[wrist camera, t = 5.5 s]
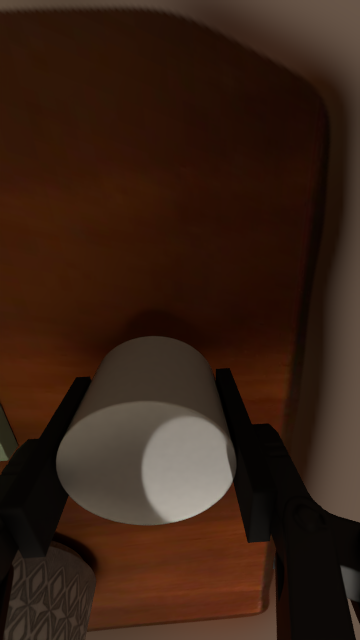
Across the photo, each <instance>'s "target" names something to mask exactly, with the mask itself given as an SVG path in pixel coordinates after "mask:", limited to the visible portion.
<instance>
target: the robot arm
mask: <svg viewBox="0 0 360 640" xmlns="http://www.w3.org/2000/svg"><path fill="white" fill-rule="evenodd" d="M90 382H91V379H90V377H76V379H75V380H74V382H73V384H72V385H71V387H70V389H69V390H68V392H67V394H66V395H65V397H64V399H63V400H62V402H61V404H60V405H59V407H58V408H57V410H56V412H55V413H54V415H53V417H52V418H51V420H50V422H49V423H48V425H47V427H46V428H45V430H44V432H43V433H42V435H41V437H40V438H39V439H28V440H27V441H26V442H25V443H24V444H23V445H22V446H21V447H20V448H18V449H17V450H16V452H15V453H14V455H13V456H12V458H11V459H10V461H9V464H8V465H6V467H5V468H4V470H3V471H2V474H1V475H0V640H3V636H4V630H5V624H6V618H7V612H8V607H9V601H10V595H11V589H12V583H13V578H14V566H13V565H12V562H13V560H14V558H15V556H16V554H17V551H18V550H19V552H20V553H21V555H22V557H23V559H24V558H38V557H46V554H47V552H48V549H49V546H50V544H51V541H52V538H53V536H54V533H55V530H56V528H57V525H58V522H59V520H60V517H61V514H62V512H63V509H64V506H65V503H66V501H67V498H68V493H67V492H66V491H65V489H64V488H63V486H62V485H61V482H60V480H59V478H58V474H57V470H56V456H57V451H58V448H59V445H60V442H61V440H62V438H63V436H64V434H65V432H66V430H67V428H68V426H69V424H70V422H71V420H72V418H73V416H74V414H75V412H76V410H77V408H78V406H79V404H80V402H81V400H82V398H83V396H84V394H85V392H86V390H87V388H88V386H89V384H90ZM216 384H217V387H218V391H219V394H220V398H221V401H222V405H223V409H224V412H225V416H226V419H227V423H228V426H229V430H230V434H231V437H232V441H233V444H234V448H235V452H236V457H237V468H236V473H235V477H234V480H233V482H234V486H235V491H236V495H237V499H238V503H239V507H240V512H241V516H242V520H243V524H244V528H245V532H246V537H247V541H248V543H251V542H265V541H270V535H271V534H272V537H273V540H274V544H275V547H276V552H275V557H274V563H273V568H274V569H275V576H276V617H277V640H356V638H355V634H354V629H353V624H352V620H351V615H350V610H349V605H348V600H347V598H348V599H350V600H351V603H352V605H353V608H354V611H355V613H356V616H357V618H358V621H359V623H360V523H359V522H356V521H352V520H349V519H345V518H342V517H338V516H336V515H333V514H331V513H329V512H327V511H326V510H324V509H323V508H322V507H321V506H320V505H318V504H317V503H316V502H315V501H314V500H313V499H312V498H311V496H310V494H309V493H308V491H307V489H306V487H305V485H304V483H303V481H302V480H301V477H300V475H299V473H298V472H297V469H296V467H295V465H294V464H293V462H292V460H291V458H290V456H289V455H288V452H287V450H286V448H285V446H284V444H283V442H282V440H281V438H280V436H279V434H278V432H277V431H276V430H275V429H274V428H273V427H272V426H271V425H270V424H269V423H268V424H251V421H250V419H249V416H248V413H247V411H246V408H245V406H244V403H243V401H242V398H241V396H240V393H239V391H238V388H237V386H236V383H235V381H234V378H233V376H232V373H231V371H230V368H224V369H216Z"/></svg>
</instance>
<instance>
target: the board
mask: <svg viewBox="0 0 360 640" xmlns="http://www.w3.org/2000/svg"><path fill="white" fill-rule="evenodd" d="M17 447H18V444H17V442H16V440H15V438H14V435H13V433H12V431H11V428H10V426H9V424H8V421H7V419H6V417H5V414H4V412H3V410H2V407H1V405H0V461H6V460H9V458H10V457H11V455H12V454H13V452H14V451H15V450H16V448H17Z"/></svg>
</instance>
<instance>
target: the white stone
mask: <svg viewBox="0 0 360 640" xmlns="http://www.w3.org/2000/svg"><path fill="white" fill-rule="evenodd" d="M236 468H237V457H236V452H235V448H234V444H233V441H232V437H231V434H230V430H229V426H228V423H227V419H226V416H225V412H224V409H223V405H222V401H221V398H220V394H219V391H218V387H217V384H216V380H215V377H214V373H213V371H212V368H211V366H210V365H209V363H208V361H207V360H206V359H205V358H204V356H203V355H202V354H201V353H199V352H198V351H197V350H196V349H194V348H193V347H192V346H190V345H188V344H186V343H184V342H182V341H179V340H177V339H173V338H169V337H162V336H147V337H140V338H135V339H132V340H129V341H127V342H124V343H122V344H120V345H118V346H117V347H116V348H114V349H113V350H111V351H110V352H109V353H108V354H107V355H106V356H105V357H104V359H103V360H102V361H101V363H100V365H99V366H98V368H97V370H96V372H95V374H94V376H93V378H92V380H91V382H90V384H89V386H88V388H87V390H86V392H85V394H84V396H83V398H82V400H81V402H80V404H79V406H78V408H77V410H76V412H75V414H74V416H73V418H72V420H71V422H70V424H69V426H68V428H67V430H66V432H65V434H64V436H63V438H62V440H61V442H60V445H59V448H58V451H57V456H56V470H57V474H58V478H59V480H60V482H61V485H62V486H63V488H64V489H65V491H66V492H67V493H68V495H69V496H70V497H71V498H72V499H73V500H74V501H75V502H77V503H78V504H79V505H80V506H82V507H83V508H85V509H86V510H88V511H90V512H92V513H94V514H96V515H98V516H100V517H103V518H106V519H109V520H112V521H116V522H120V523H126V524H133V525H159V524H167V523H173V522H177V521H181V520H185V519H187V518H190V517H193V516H195V515H197V514H199V513H201V512H203V511H205V510H207V509H208V508H210V507H211V506H213V505H214V504H215V503H217V502H218V501H219V500H220V499H221V498H222V497H223V496H224V494H225V493H226V492H227V491H228V489H229V488H230V486H231V484H232V482H233V480H234V477H235V473H236Z"/></svg>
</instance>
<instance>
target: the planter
mask: <svg viewBox="0 0 360 640" xmlns="http://www.w3.org/2000/svg"><path fill="white" fill-rule="evenodd" d="M12 565H13V566H14V578H13V583H12V589H11V595H10V601H9V607H8V612H7V618H6V624H5V630H4V636H3V640H85V637H86V632H87V627H88V622H89V617H90V612H91V607H92V602H93V597H94V592H95V587H96V578H95V574H94V572H93V571H92V569H91V567H90V566H89V565H88V564H87V563H86V562H84V561H83V559H82V558H81V556H80V555H79V554H78V553H77V552H75V551H74V550H73V549H71V548H69V547H67V546H65V545H63V544H61V543H58V542H55V541H51V544H50V546H49V549H48V552H47V554H46V557H38V558H24V559H23V557H22V555H21V553H20V552H19V550H18V551H17V554H16V556H15V558H14V560H13V562H12Z"/></svg>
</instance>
